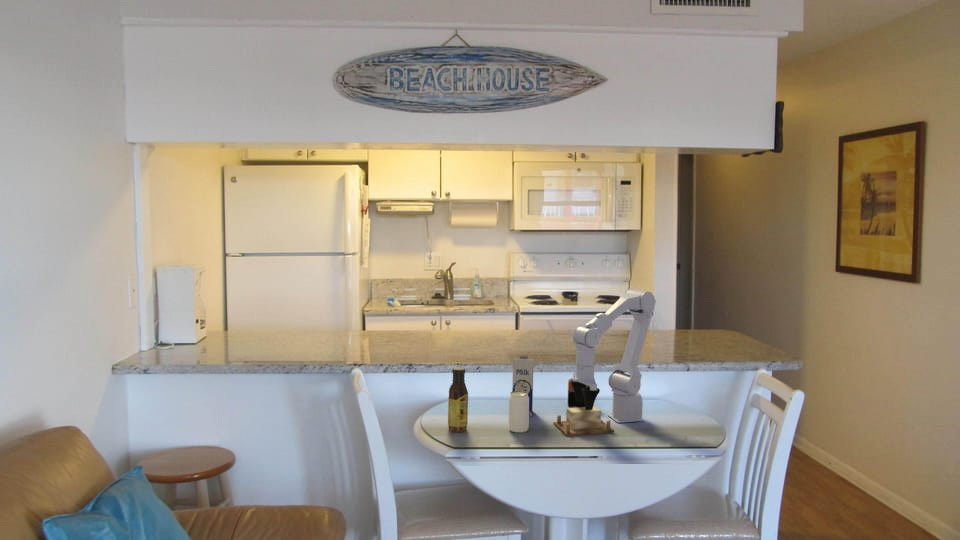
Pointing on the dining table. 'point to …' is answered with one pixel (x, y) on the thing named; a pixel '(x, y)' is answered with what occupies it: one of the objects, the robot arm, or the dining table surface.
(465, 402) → the sauce bottle
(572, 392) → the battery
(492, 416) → the dining table surface
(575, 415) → the block
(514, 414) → the can
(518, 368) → the milk carton
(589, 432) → the chassis
